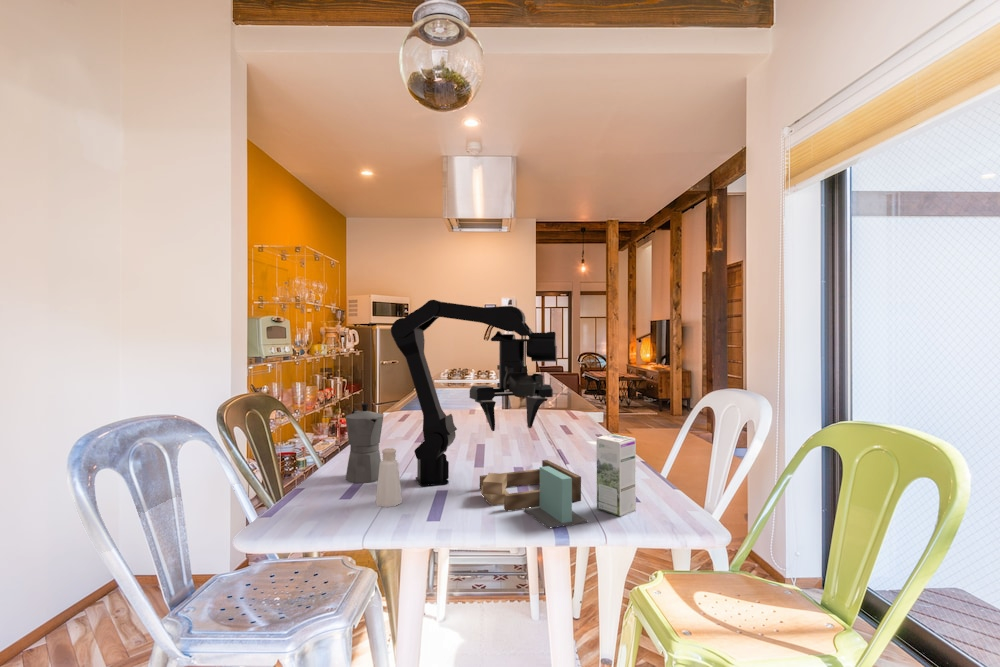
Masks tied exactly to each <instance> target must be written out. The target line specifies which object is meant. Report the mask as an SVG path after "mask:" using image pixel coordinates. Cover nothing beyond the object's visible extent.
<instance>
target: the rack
mask: <svg viewBox="0 0 1000 667" xmlns="http://www.w3.org/2000/svg"><path fill="white" fill-rule="evenodd" d="M541 461H542V462H541V467H545V466H549V467H551V468H553V469H555V470H557V471H559V472H561V473H563V474H565V475H567V476H569V477H571V478H572V503H573V501H574V502H581V501H582V476H580V475H579V474H576V473H575V472H572V471H571V470H568V469H567V468H564V467H562V466H560V465H558V464H556V463H554V462H552V461H550V460H548V459H542V460H541ZM499 473H500V474H507V486H506V487H507V488H511V487H510V486H515V487H520V486H519V485H523V486H530V485H529V484H531V485H536V484H537V485H540V468H537V469H536V468H535V469H529V470H519V471H511V472H502V473H501V472H499ZM487 475H488V474H485V475H484V474H483V475H479V490H480V489H481V485H483V481H484V479H485V478H486V476H487ZM538 506H540V489H536V490H535V489H534V490H527V491H518V492H510V493H509V494H504V505H503V507H504V509H505V510H504V511H506V512H509V511H508V510H512V511H516V510H515V509H519V510H523V509H522V508H529V507H538Z"/></svg>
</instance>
